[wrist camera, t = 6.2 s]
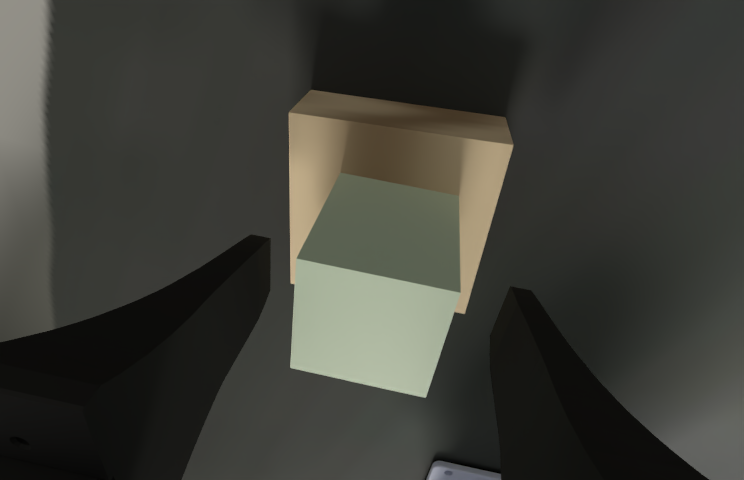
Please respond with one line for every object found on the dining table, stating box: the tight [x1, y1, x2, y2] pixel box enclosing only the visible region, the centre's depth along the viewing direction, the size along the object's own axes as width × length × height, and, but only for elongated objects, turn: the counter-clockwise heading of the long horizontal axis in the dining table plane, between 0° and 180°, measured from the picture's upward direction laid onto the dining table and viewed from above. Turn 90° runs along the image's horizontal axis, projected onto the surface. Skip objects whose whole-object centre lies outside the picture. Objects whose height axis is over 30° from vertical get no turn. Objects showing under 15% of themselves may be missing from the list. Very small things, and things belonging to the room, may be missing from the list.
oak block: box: [289, 90, 514, 314], centre depth 17 cm, size 7×7×3 cm
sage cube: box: [290, 173, 461, 398], centre depth 14 cm, size 4×4×5 cm
